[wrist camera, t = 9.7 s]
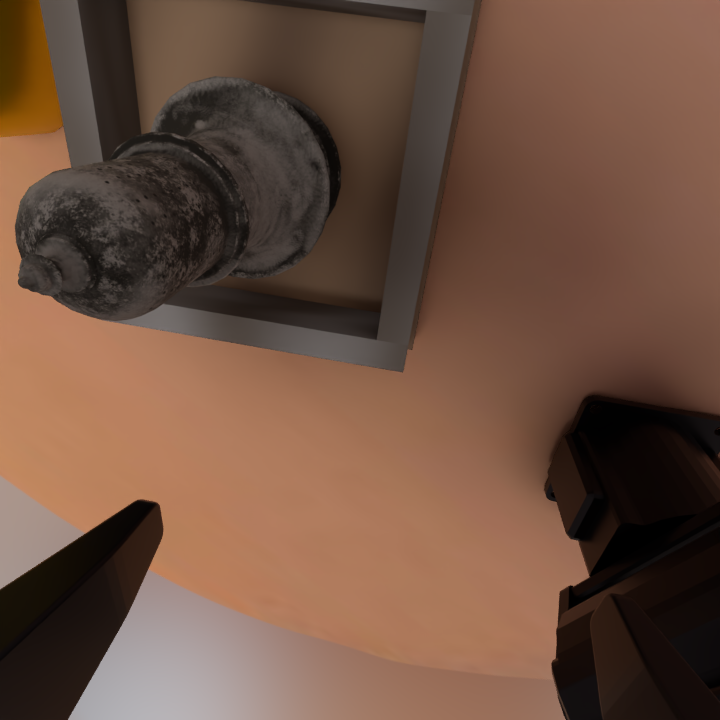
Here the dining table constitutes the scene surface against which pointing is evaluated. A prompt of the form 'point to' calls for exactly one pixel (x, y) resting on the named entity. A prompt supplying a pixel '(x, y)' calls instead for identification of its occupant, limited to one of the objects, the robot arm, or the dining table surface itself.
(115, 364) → the dining table surface
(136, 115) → the socket
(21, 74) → the element tile
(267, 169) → the dark grey chess piece
